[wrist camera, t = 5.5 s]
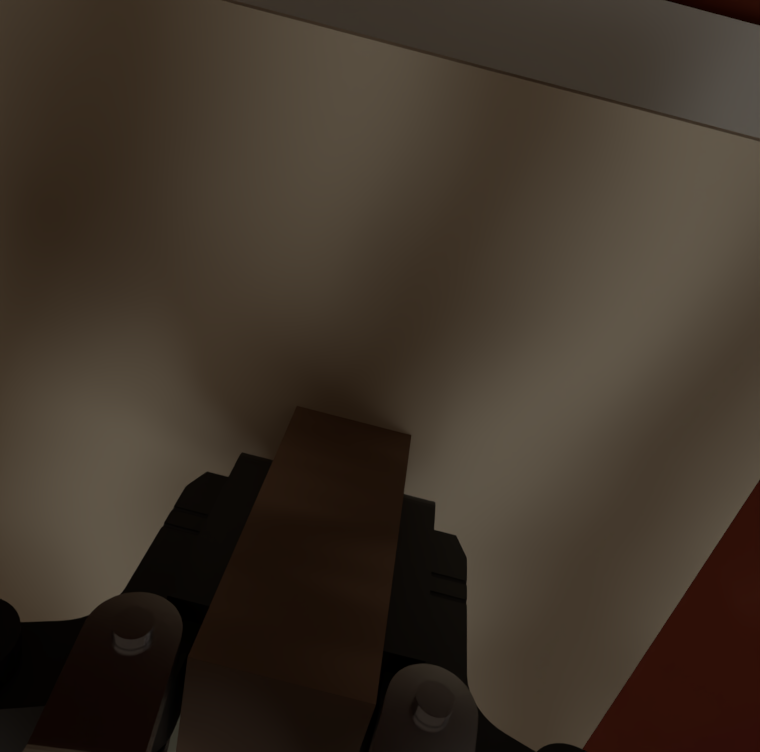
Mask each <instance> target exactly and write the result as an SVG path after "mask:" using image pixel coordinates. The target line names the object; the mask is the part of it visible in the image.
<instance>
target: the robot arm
mask: <svg viewBox="0 0 760 752" xmlns="http://www.w3.org/2000/svg"><path fill="white" fill-rule="evenodd" d="M272 462H273V460H271V459H267V458H263V457H259V456H255V455H251V454H247V453H243V452H242V453H241V454H240V456H239V457H238V459H237V461H236V463H235V465H234V467H233V469H232V471H231V473H230V475H229V477H227V476H223V475H219V474H215V473H211V472H205V473H204V474H203V475H201V476H200V477H198V478H197V479H195V480H194V481H192V482H191V483H189V484H188V485H187V486H186V487H185V488H184V490H183V492H182V493H181V495H180V497H179V498H178V500H177V502H176V503H175V505H174V508H173V510H171V512H170V513H169V515H168V517H167V518H166V520H165V522H164V525H163V527H161V529H160V530H159V532H158V534H157V535H156V537H155V539H154V540H153V542H152V544H151V545H150V547H149V549H148V550H147V552H146V554H145V555H144V557H143V559H142V560H141V562H140V564H139V565H138V567H137V569H136V570H135V572H134V574H133V575H132V577H131V579H130V581H129V582H128V584H127V586H126V587H125V589H124V590H123V591H122V593H121V594H120V595H117V596H114V597H112V598H110V599H108V600H106V601H104V602H103V603H101V604H100V605H99V606H97V607H96V608H95V609H94V610H93V611H92V612H91V613H90V615H87V616H84V617H81V618H77V619H72V620H62V621H39V622H20V617H19V615H18V613H17V611H16V610H15V608H14V607H13V606H12V605H10V604H9V603H8V602H6V601H4V600H2V599H0V752H167V750H168V747H169V742H170V737H171V735H172V733H173V731H174V729H175V726H176V724H177V721H178V719H179V717H180V714H181V706H182V698H183V690H184V682H185V674H186V666H187V658H188V655H189V653H190V650H191V648H192V646H193V643H194V641H195V639H196V636H197V634H198V632H199V630H200V627H201V625H202V623H203V620H204V618H205V616H206V614H207V611H208V609H209V607H210V604H211V602H212V600H213V597H214V595H215V593H216V591H217V588H218V586H219V584H220V581H221V579H222V577H223V574H224V572H225V570H226V568H227V565H228V563H229V561H230V558H231V556H232V554H233V551H234V549H235V547H236V545H237V542H238V540H239V538H240V535H241V533H242V531H243V528H244V526H245V524H246V522H247V519H248V517H249V515H250V512H251V510H252V508H253V506H254V503H255V501H256V499H257V496H258V494H259V492H260V489H261V487H262V485H263V483H264V480H265V478H266V476H267V473H268V471H269V469H270V466H271V464H272ZM435 507H436V505H435V502H434V501H430V500H426V499H422V498H418V497H414V496H410V495H406V494H404V496H403V503H402V511H401V519H400V526H399V534H398V541H397V549H396V557H395V564H394V572H393V579H392V587H391V595H390V602H389V610H388V617H387V625H386V633H385V640H384V648H383V655H382V663H381V671H380V678H379V686H378V693H377V701H376V706H375V709H374V711H373V714H372V717H371V720H370V722H369V725H368V728H367V731H366V733H365V736H364V739H363V742H362V744H361V747H360V750H359V752H535V751H534V750H532V749H530V748H529V747H527V746H525V745H524V744H522V743H520V742H519V741H517V740H515V739H514V738H512V737H510V736H509V735H507V734H505V733H504V732H503V731H501V730H500V729H498V728H497V727H496V726H494V725H493V724H492V723H491V722H490V721H489V720H488V719H487V718H486V717H485V716H484V715H483V714H482V712H481V711H480V709H479V708H478V707H477V705H476V703H475V700H474V698H473V696H472V694H471V692H470V690H469V686H468V680H467V604H466V601H467V585H466V583H467V557H466V555H465V553H464V551H463V549H462V546H461V544H460V542H459V540H458V538H457V536H456V535H453V534H449V533H445V532H441V531H437V530H434V523H435ZM537 752H586V751H585V750H583V749H581V748H579V747H576V746H573V745H570V744H565V743H553V744H548V745H546V746H543V747H542V748H540V749H539V750H538V751H537Z"/></svg>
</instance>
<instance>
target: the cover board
mask: <svg viewBox="0 0 760 752" xmlns="http://www.w3.org/2000/svg"><path fill="white" fill-rule="evenodd" d="M242 452H243V453H247V454H251V455H255V456H259V457H263V458H267V459H271V460H273V462H272V464H271V466H270V469H269V471H268V473H267V476H266V478H265V480H264V483H263V485H262V487H261V489H260V492H259V494H258V496H257V499H256V501H255V503H254V506H253V508H252V510H251V512H250V515H249V517H248V519H247V522H246V524H245V526H244V528H243V531H242V533H241V535H240V538H239V540H238V542H237V545H236V547H235V549H234V551H233V554H232V556H231V558H230V561H229V563H228V565H227V568H226V570H225V572H224V574H223V577H222V579H221V581H220V584H219V586H218V588H217V591H216V593H215V595H214V597H213V600H212V602H211V604H210V607H209V609H208V611H207V614H206V616H205V618H204V620H203V623H202V625H201V627H200V630H199V632H198V634H197V636H196V639H195V641H194V643H193V646H192V648H191V650H190V653H189V655H188V658H187V666H186V674H185V682H184V690H183V698H182V706H181V714H180V723H179V731H178V739H177V747H176V752H359V750H360V747H361V744H362V742H363V739H364V736H365V733H366V731H367V728H368V725H369V722H370V720H371V717H372V714H373V711H374V709H375V706H376V701H377V693H378V686H379V678H380V671H381V663H382V655H383V648H384V640H385V633H386V625H387V617H388V610H389V602H390V595H391V587H392V579H393V572H394V564H395V557H396V549H397V541H398V534H399V526H400V519H401V511H402V503H403V496H404V494H406V495H410V496H414V497H418V498H422V499H426V500H430V501H434V502H435V505H436V507H435V523H434V530H437V531H441V532H445V533H449V534H453V535H456V536H457V538H458V540H459V542H460V544H461V546H462V549H463V551H464V553H465V555H466V557H467V583H466V585H467V601H466V604H467V680H468V686H469V690H470V692H471V694H472V696H473V698H474V700H475V703H476V705H477V707H478V708H479V709H480V711H481V712H482V714H483V715H484V716H485V717H486V718H487V719H488V720H489V721H490V722H491V723H492V724H493V725H494V726H496V727H497V728H498V729H500V730H501V731H503V732H504V733H505V734H507V735H509V736H510V737H512V738H514V739H515V740H517V741H519V742H520V743H522V744H524V745H525V746H527V747H529V748H530V749H532V750H534V751H535V752H537V751H538V750H539V749H540V748H542V747H543V746H546V745H548V744H553V743H565V744H570V745H573V746H576V747H579V748H581V749H582V748H583V747H584V745H585V744H586V742H587V741H588V739H589V738H590V736H591V735H592V733H593V732H594V730H595V729H596V727H597V726H598V724H599V723H600V721H601V720H602V718H603V716H604V715H605V713H606V712H607V710H608V709H609V707H610V706H611V704H612V703H613V701H614V700H615V698H616V697H617V695H618V694H619V692H620V691H621V689H622V688H623V686H624V685H625V683H626V682H627V680H628V679H629V677H630V675H631V674H632V672H633V671H634V669H635V668H636V666H637V665H638V663H639V662H640V660H641V659H642V657H643V656H644V654H645V653H646V651H647V650H648V648H649V647H650V645H651V644H652V642H653V641H654V639H655V638H656V636H657V634H658V633H659V631H660V630H661V628H662V627H663V625H664V624H665V622H666V621H667V619H668V618H669V616H670V615H671V613H672V612H673V610H674V609H675V607H676V606H677V604H678V603H679V601H680V600H681V598H682V596H683V595H684V593H685V592H686V590H687V589H688V587H689V586H690V584H691V583H692V581H693V580H694V578H695V577H696V575H697V574H698V572H699V571H700V569H701V568H702V566H703V565H704V563H705V562H706V560H707V559H708V557H709V555H710V554H711V552H712V551H713V549H714V548H715V546H716V545H717V543H718V542H719V540H720V539H721V537H722V536H723V534H724V533H725V531H726V530H727V528H728V527H729V525H730V524H731V522H732V521H733V519H734V518H735V516H736V514H737V513H738V511H739V510H740V508H741V507H742V505H743V504H744V502H745V501H746V499H747V498H748V496H749V495H750V493H751V492H752V490H753V489H754V487H755V486H756V484H757V483H758V481H759V480H760V138H757V137H753V136H749V135H745V134H741V133H738V132H734V131H730V130H726V129H722V128H718V127H715V126H711V125H707V124H703V123H699V122H696V121H692V120H688V119H684V118H680V117H677V116H673V115H669V114H665V113H661V112H657V111H654V110H650V109H646V108H642V107H638V106H635V105H631V104H627V103H623V102H619V101H616V100H612V99H608V98H604V97H600V96H596V95H593V94H589V93H585V92H581V91H577V90H574V89H570V88H566V87H562V86H558V85H555V84H551V83H547V82H543V81H539V80H535V79H532V78H528V77H524V76H520V75H516V74H513V73H509V72H505V71H501V70H497V69H493V68H490V67H486V66H482V65H478V64H474V63H471V62H467V61H463V60H459V59H455V58H452V57H448V56H444V55H440V54H436V53H432V52H429V51H425V50H421V49H417V48H413V47H410V46H406V45H402V44H398V43H394V42H391V41H387V40H383V39H379V38H375V37H371V36H368V35H364V34H360V33H356V32H352V31H349V30H345V29H341V28H337V27H333V26H330V25H326V24H322V23H318V22H314V21H310V20H307V19H303V18H299V17H295V16H291V15H288V14H284V13H280V12H276V11H272V10H269V9H265V8H261V7H257V6H253V5H249V4H246V3H242V2H238V1H234V0H0V599H2V600H4V601H6V602H8V603H9V604H10V605H12V606H13V607H14V608H15V610H16V611H17V613H18V615H19V617H20V622H39V621H62V620H72V619H77V618H81V617H84V616H87V615H90V613H91V612H92V611H93V610H94V609H95V608H96V607H97V606H99V605H100V604H101V603H103V602H104V601H106V600H108V599H110V598H112V597H114V596H117V595H120V594H121V593H122V591H123V590H124V589H125V587H126V586H127V584H128V582H129V581H130V579H131V577H132V575H133V574H134V572H135V570H136V569H137V567H138V565H139V564H140V562H141V560H142V559H143V557H144V555H145V554H146V552H147V550H148V549H149V547H150V545H151V544H152V542H153V540H154V539H155V537H156V535H157V534H158V532H159V530H160V529H161V527H163V525H164V522H165V520H166V518H167V517H168V515H169V513H170V512H171V510H173V508H174V505H175V503H176V502H177V500H178V498H179V497H180V495H181V493H182V492H183V490H184V488H185V487H186V486H187V485H188V484H189V483H191V482H192V481H194V480H195V479H197V478H198V477H200V476H201V475H203V474H204V473H205V472H211V473H215V474H219V475H223V476H227V477H229V475H230V473H231V471H232V469H233V467H234V465H235V463H236V461H237V459H238V457H239V456H240V454H241V453H242Z"/></svg>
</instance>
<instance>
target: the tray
mask: <svg viewBox="0 0 760 752" xmlns="http://www.w3.org/2000/svg"><path fill="white" fill-rule="evenodd" d="M234 1H238V2H242V3H246V4H249V5H253V6H257V7H261V8H265V9H269V10H272V11H276V12H280V13H284V14H288V15H291V16H295V17H299V18H303V19H307V20H310V21H314V22H318V23H322V24H326V25H330V26H333V27H337V28H341V29H345V30H349V31H352V32H356V33H360V34H364V35H368V36H371V37H375V38H379V39H383V40H387V41H391V42H394V43H398V44H402V45H406V46H410V47H413V48H417V49H421V50H425V51H429V52H432V53H436V54H440V55H444V56H448V57H452V58H455V59H459V60H463V61H467V62H471V63H474V64H478V65H482V66H486V67H490V68H493V69H497V70H501V71H505V72H509V73H513V74H516V75H520V76H524V77H528V78H532V79H535V80H539V81H543V82H547V83H551V84H555V85H558V86H562V87H566V88H570V89H574V90H577V91H581V92H585V93H589V94H593V95H596V96H600V97H604V98H608V99H612V100H616V101H619V102H623V103H627V104H631V105H635V106H638V107H642V108H646V109H650V110H654V111H657V112H661V113H665V114H669V115H673V116H677V117H680V118H684V119H688V120H692V121H696V122H699V123H703V124H707V125H711V126H715V127H718V128H722V129H726V130H730V131H734V132H738V133H741V134H745V135H749V136H753V137H757V138H760V26H759V25H755V24H752V23H748V22H744V21H740V20H737V19H733V18H729V17H725V16H722V15H718V14H714V13H710V12H707V11H703V10H699V9H695V8H692V7H688V6H684V5H680V4H677V3H673V2H669V1H665V0H234Z"/></svg>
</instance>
